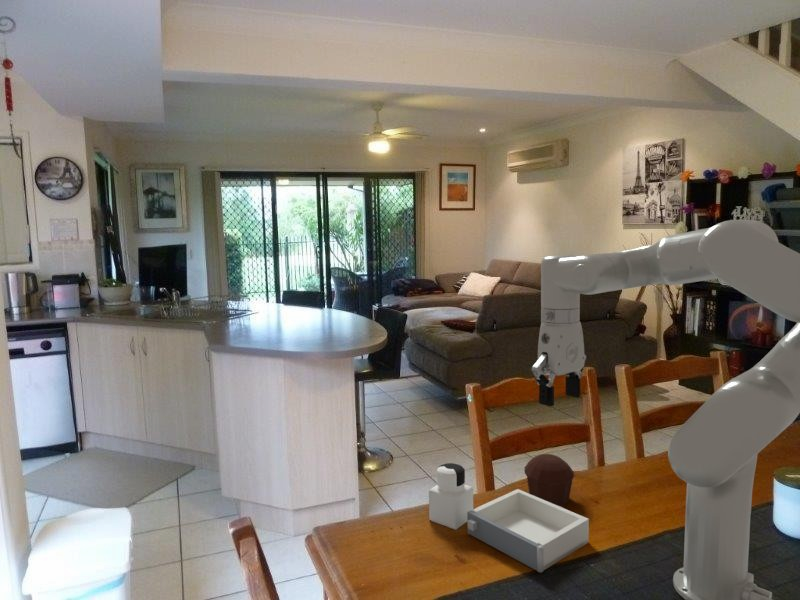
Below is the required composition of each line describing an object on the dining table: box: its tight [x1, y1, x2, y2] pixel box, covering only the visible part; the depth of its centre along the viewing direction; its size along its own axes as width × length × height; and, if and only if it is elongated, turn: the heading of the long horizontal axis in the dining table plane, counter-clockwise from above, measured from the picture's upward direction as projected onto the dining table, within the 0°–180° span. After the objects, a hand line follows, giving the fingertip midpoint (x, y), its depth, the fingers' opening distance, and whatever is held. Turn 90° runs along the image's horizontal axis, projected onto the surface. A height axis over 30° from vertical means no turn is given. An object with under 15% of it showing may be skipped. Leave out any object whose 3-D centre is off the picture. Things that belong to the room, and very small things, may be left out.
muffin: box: [523, 453, 575, 507], centre depth 133 cm, size 12×11×10 cm
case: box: [472, 488, 590, 571], centre depth 116 cm, size 18×15×5 cm
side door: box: [467, 511, 545, 573], centre depth 110 cm, size 19×2×5 cm, turn 39°
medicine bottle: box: [428, 462, 474, 531], centre depth 124 cm, size 7×7×12 cm
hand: (559, 400), depth 116 cm, fingers open, 8 cm apart
